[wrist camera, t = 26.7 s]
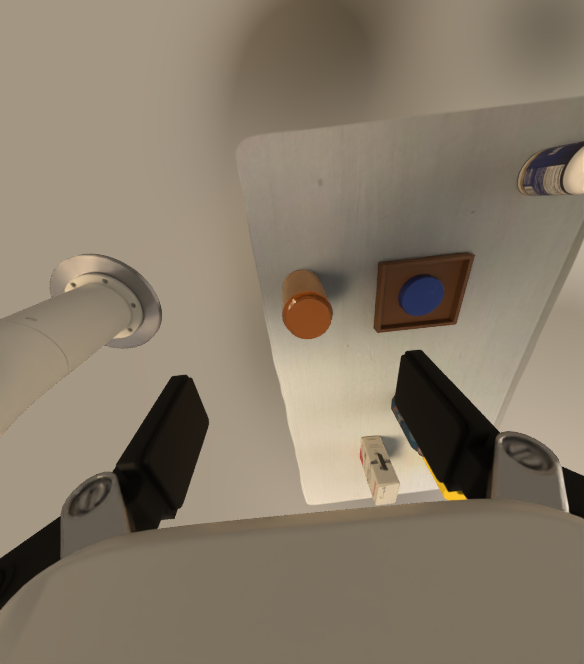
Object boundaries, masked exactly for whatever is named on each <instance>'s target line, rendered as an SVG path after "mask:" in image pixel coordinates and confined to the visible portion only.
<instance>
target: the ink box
mask: <svg viewBox="0 0 584 664" xmlns="http://www.w3.org/2000/svg"><path fill="white" fill-rule="evenodd" d="M360 459H361V462H362V465H363V468H364V472H365V475H366V478H367V481H368V484H369V487H370V491H371V494H372V497H373V500H374V503H375V505H384V504H390V503H395V501H396V497H397V493H398V489H399V485H400V482H399V480H398V478H397V475H396V473H395V470H394V468H393V466H392V464H391V461H390V459H389V457H388V454H387V452H386V450H385V447H384V445H383V443H382V440H381V438H380V436H374V437H363V438H361V450H360Z"/></svg>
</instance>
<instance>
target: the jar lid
mask: <svg viewBox="0 0 584 664" xmlns="http://www.w3.org/2000/svg"><path fill="white" fill-rule="evenodd" d="M443 295H444V287H443V285H442V283H441V282H440V281H439V280H438V279H437V278H435V277H432V276H429V275H417V276H414V277H412V278H410V279H409V280H408V281H407V282H406V283H405V284H404V285H403V286H402V287H401V289H400V291H399V295H398V302H399V306H400V307H401V308H402V309H403V310H404V311H405V312H406V313H408V314H410V315H413V316H422V315H426V314H428V313H430V312H432V311H433V310H434V309H435V308H436V307H437V306H438V305H439V304H440V302H441V301H442V299H443Z"/></svg>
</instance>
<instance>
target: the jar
mask: <svg viewBox="0 0 584 664" xmlns="http://www.w3.org/2000/svg"><path fill="white" fill-rule="evenodd" d="M332 315H333V311H332V306H331V304H330V302H329V300H328V297H327V295H326V293H325V291H324V289H323V287H322V284H321V282H320V280H319V278H318V277H317V276H316V275H315V274H314V273H312V272H310V271H308V270H298V271H295V272H293V273H291V274H290V275H289V276H288V277H287V278H286V279H285V281H284V283H283V304H282V317H283V322H284V324H285V326H286V327H287V329H288V330H289V331H290V332H291V333H292V334H294V335H295V336H297V337H299V338H302V339H313V338H316V337H318V336H320V335H322V334H323V333H325V332H326V330H327V329H328V328H329V326H330V324H331V320H332Z"/></svg>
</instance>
